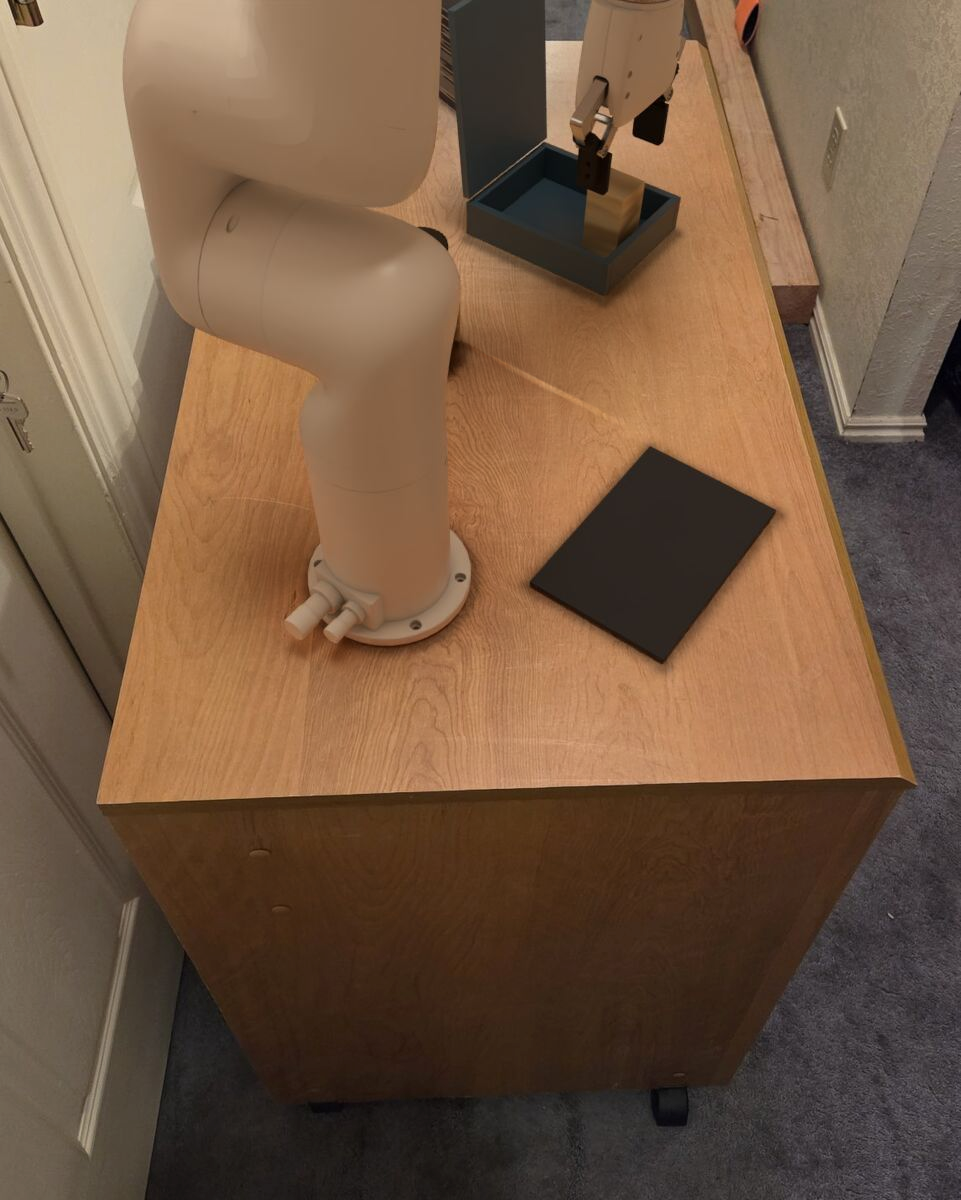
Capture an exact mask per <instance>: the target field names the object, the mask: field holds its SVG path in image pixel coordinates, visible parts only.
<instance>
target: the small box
mask: <svg viewBox="0 0 961 1200" xmlns="http://www.w3.org/2000/svg"><path fill="white" fill-rule="evenodd" d="M461 1H462V0H442V6H441V43H440V76H439V98H441V99H442V100H443V101H445V102H446V103H447V104H448V105H449V106H451V107H452V108H453V109H455V110H456V106H455V94H454V82H453V70H452V59H451V47H450V35H449V23H448V11H447V10H448V9H450V8H451V7H453V6H454V5H456V4H457V3H459V2H461Z"/></svg>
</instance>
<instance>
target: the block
mask: <svg viewBox="0 0 961 1200" xmlns="http://www.w3.org/2000/svg"><path fill="white" fill-rule="evenodd" d="M645 183H646V180H643V179H640V178H638V177H635V176H633V175H630V174H628V173H627V172H624V171H621V170H619V169H616V168H613V167H611V171H610V180H609V189H608V192H607V193H606V194H605V195H600V194H597V193H595V192H593V191H590V190H588V189H587V199H586V209H585V220H584V230H583V240H582V248H583V249H586V250H588V251H590V252H592V253H595V254H597V255H599V256H601V257H604V258H606V257H608V256H609V255H610V254H611V253H612V252H613V251H614V250H615V249H616V248H617V247H618V246H619V245H621V244H622V243H623V242H624V241H625V240H626V239H627V238H628V237H629V236H630V235H631V234H632V233H633V232H635V231H636V230H637V229H638V227H639V220H640V213H641V206H642V199H643V193H644V186H645Z"/></svg>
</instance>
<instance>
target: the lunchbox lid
mask: <svg viewBox="0 0 961 1200" xmlns="http://www.w3.org/2000/svg"><path fill="white" fill-rule="evenodd" d="M447 11H448V23H449V35H450V47H451V59H452V70H453V82H454V94H455V106H456V109H455V115H456V118H455V119H456V127H457V141H458V151H459V152H458V153H459V164H460V175H461V177H460V178H461V186H462V187H461V188H462V197H463V198H465V199H468V200H470V199H472V198H473V197H474V196H476V195H477V194H478V193H479V192H481V191H482V190H483V189H484V188H486V187H487V186H488V185H490V184H491V183H492V182H493V181H495V180H496V179H497V178H498V177H500V176H501V175H502V174H504V173H505V172H506V171H507V170H509V169H510V168H511V167H512V166H514V165H515V164H516V163H517V162H519V161H520V160H521V159H523V158H524V157H525V156H526V155H528V154H529V153H530V152H531V151H533V150H534V149H535V148H537V147H538V146H539V145H540V144H541V143H543V142H545V140H546V139H548V121H547V120H548V111H547V50H546V46H547V45H546V44H547V43H546V42H547V40H546V0H462V1H461V2H459V3H457V4H456V5H454V6H453V7H451V8H450V9H448V10H447Z"/></svg>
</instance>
